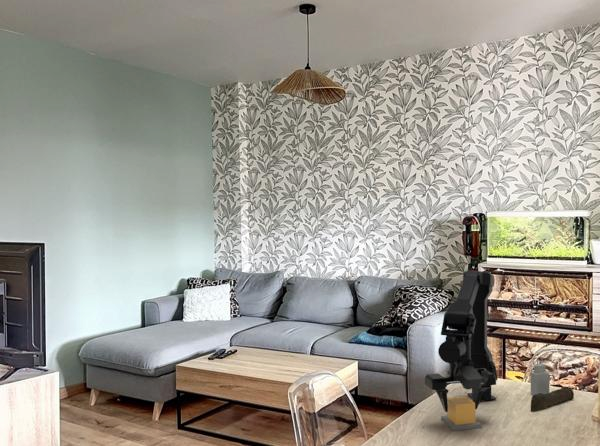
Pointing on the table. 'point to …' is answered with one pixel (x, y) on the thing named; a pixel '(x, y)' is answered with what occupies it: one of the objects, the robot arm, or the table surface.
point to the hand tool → (551, 398)
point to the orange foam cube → (461, 410)
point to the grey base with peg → (461, 426)
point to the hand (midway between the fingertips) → (460, 410)
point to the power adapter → (539, 379)
